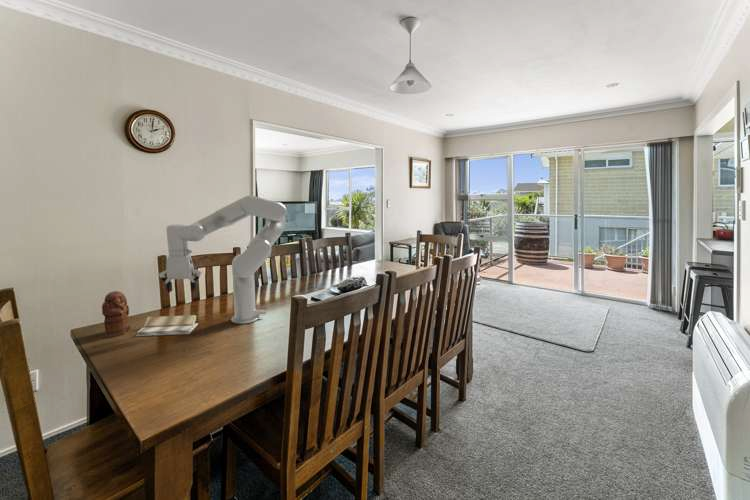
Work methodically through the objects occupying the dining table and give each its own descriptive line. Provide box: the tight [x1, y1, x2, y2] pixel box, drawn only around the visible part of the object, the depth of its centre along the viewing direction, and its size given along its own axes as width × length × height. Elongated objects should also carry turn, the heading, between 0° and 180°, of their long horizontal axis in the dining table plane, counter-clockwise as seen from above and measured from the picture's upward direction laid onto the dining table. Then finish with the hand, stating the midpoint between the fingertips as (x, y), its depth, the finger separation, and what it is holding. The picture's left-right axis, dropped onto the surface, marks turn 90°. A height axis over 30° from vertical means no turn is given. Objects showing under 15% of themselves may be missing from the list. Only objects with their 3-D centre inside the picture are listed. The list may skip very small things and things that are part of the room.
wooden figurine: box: [101, 290, 131, 338], centre depth 154 cm, size 12×6×18 cm, turn 11°
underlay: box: [135, 322, 199, 337], centre depth 158 cm, size 21×12×1 cm, turn 99°
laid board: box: [136, 325, 193, 336], centre depth 155 cm, size 20×6×1 cm, turn 99°
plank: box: [143, 314, 197, 327], centre depth 161 cm, size 20×6×1 cm
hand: (181, 291), depth 160 cm, fingers open, 9 cm apart
